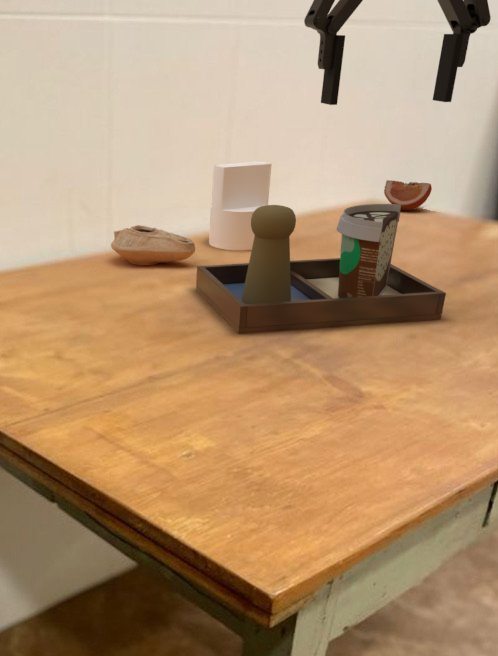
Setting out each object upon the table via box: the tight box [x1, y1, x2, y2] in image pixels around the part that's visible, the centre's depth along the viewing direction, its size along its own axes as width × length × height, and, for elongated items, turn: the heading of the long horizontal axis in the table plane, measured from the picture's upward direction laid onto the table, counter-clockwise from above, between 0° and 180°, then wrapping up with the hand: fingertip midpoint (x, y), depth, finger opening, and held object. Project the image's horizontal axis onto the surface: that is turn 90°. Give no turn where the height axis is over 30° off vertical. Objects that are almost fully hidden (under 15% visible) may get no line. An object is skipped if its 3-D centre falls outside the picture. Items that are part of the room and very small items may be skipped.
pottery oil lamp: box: [110, 224, 196, 266], centre depth 118 cm, size 9×12×7 cm
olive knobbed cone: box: [242, 204, 297, 304], centre depth 97 cm, size 6×6×11 cm
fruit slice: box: [383, 179, 433, 211], centre depth 152 cm, size 8×7×5 cm
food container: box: [336, 203, 401, 298], centre depth 99 cm, size 12×6×10 cm, turn 154°
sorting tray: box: [195, 257, 447, 335], centre depth 101 cm, size 25×18×4 cm
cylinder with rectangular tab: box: [208, 160, 272, 251], centre depth 126 cm, size 9×9×12 cm
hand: (385, 102), depth 91 cm, fingers open, 13 cm apart
